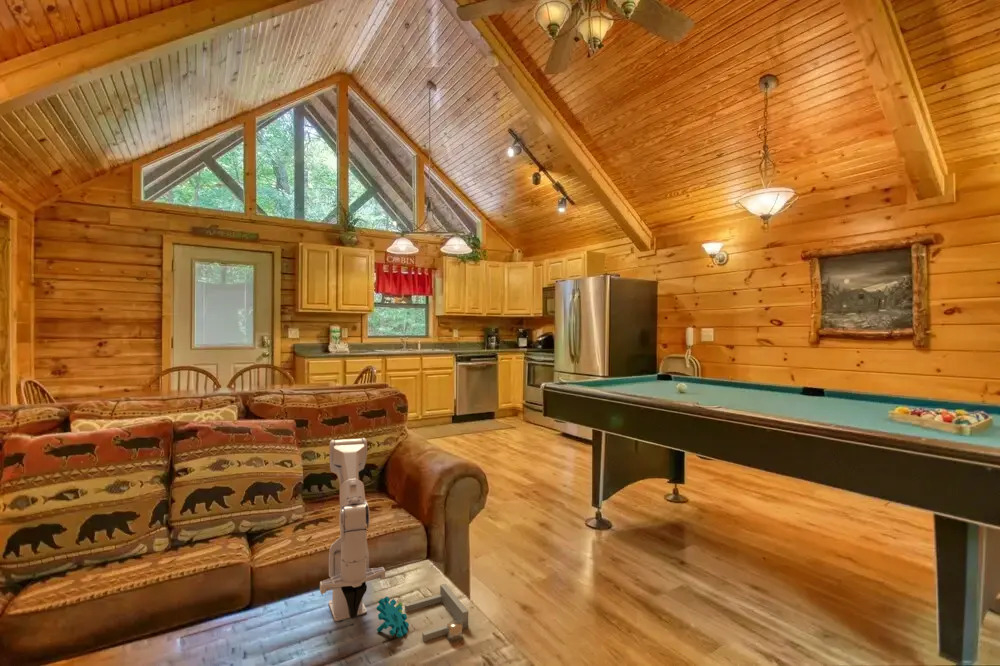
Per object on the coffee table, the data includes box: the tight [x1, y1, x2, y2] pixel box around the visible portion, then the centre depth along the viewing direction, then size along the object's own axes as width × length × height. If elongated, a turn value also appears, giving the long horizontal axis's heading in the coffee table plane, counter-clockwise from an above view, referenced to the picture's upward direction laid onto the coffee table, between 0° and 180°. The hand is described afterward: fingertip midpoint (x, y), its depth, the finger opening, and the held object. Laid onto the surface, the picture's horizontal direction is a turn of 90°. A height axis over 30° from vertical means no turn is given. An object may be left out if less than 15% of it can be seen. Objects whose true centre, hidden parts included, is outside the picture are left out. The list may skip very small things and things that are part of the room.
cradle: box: [404, 583, 469, 642], centre depth 121 cm, size 14×12×4 cm
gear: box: [376, 596, 410, 639], centre depth 116 cm, size 11×6×10 cm
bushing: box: [446, 619, 463, 643], centre depth 114 cm, size 4×4×3 cm
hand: (352, 615), depth 110 cm, fingers closed
